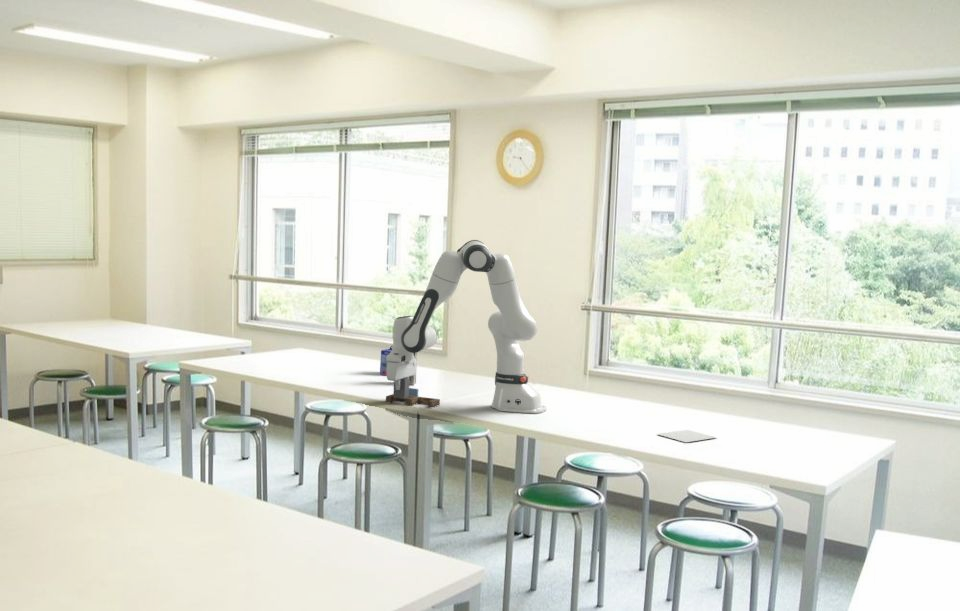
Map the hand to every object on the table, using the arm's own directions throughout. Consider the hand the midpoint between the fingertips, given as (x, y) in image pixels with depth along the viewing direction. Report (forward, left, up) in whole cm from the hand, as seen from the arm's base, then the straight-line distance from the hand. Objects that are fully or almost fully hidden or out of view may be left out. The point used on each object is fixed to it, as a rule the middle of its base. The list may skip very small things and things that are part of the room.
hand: (401, 388), depth 353 cm
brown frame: (-5, -2, -6) cm, 8 cm away
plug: (0, 0, -4) cm, 4 cm away
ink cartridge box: (+38, -61, -6) cm, 72 cm away
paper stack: (-117, +4, -6) cm, 117 cm away
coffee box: (+19, -41, -6) cm, 46 cm away
